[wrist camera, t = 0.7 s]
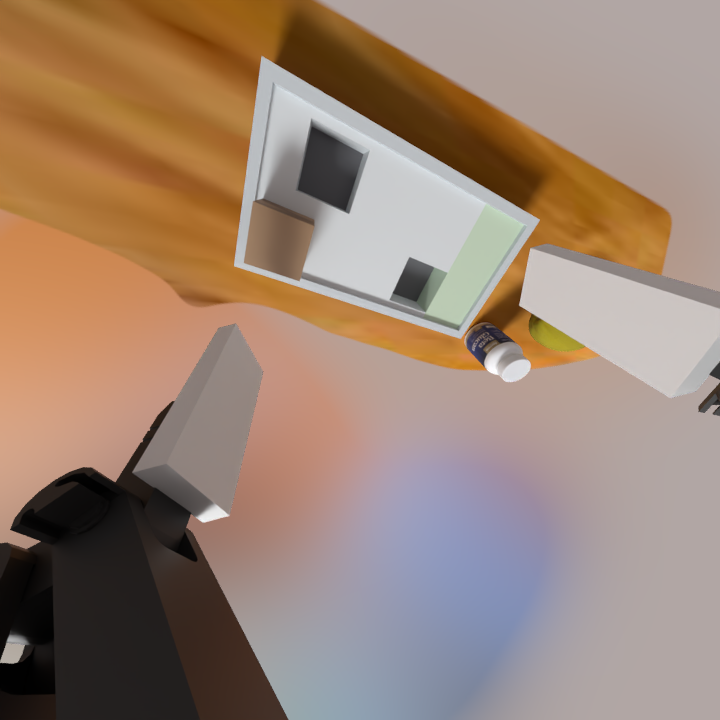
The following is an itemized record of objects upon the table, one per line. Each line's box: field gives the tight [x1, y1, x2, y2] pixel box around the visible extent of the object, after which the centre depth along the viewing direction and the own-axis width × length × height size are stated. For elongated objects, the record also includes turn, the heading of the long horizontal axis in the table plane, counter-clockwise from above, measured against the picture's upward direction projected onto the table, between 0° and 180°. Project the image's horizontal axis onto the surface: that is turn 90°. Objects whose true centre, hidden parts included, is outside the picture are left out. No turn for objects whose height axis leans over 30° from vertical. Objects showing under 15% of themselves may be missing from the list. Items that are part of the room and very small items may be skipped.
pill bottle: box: [464, 322, 531, 382], centre depth 38 cm, size 5×5×10 cm
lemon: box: [529, 314, 586, 351], centre depth 38 cm, size 11×8×8 cm
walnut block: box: [244, 199, 315, 281], centre depth 24 cm, size 5×5×5 cm
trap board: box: [234, 57, 540, 339], centre depth 29 cm, size 30×16×5 cm, turn 68°
